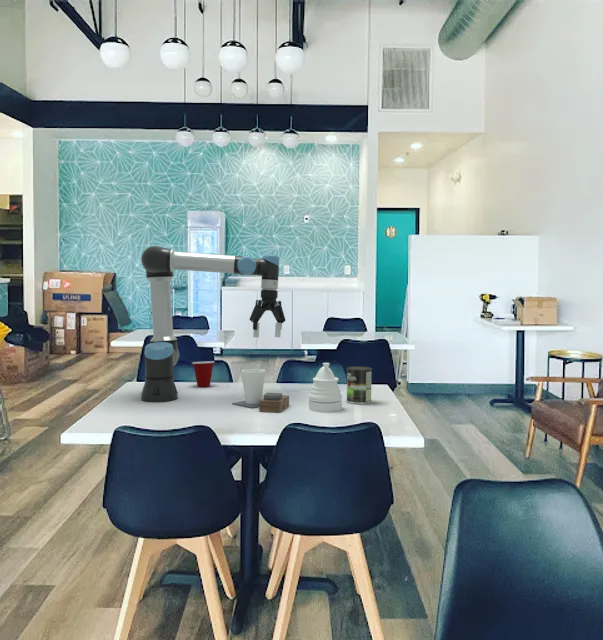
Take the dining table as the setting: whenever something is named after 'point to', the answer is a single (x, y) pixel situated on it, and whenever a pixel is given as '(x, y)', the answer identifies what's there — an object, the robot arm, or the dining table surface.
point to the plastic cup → (203, 372)
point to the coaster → (244, 404)
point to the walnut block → (273, 402)
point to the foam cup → (253, 385)
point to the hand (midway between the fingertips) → (267, 337)
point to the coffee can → (359, 385)
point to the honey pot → (325, 392)
